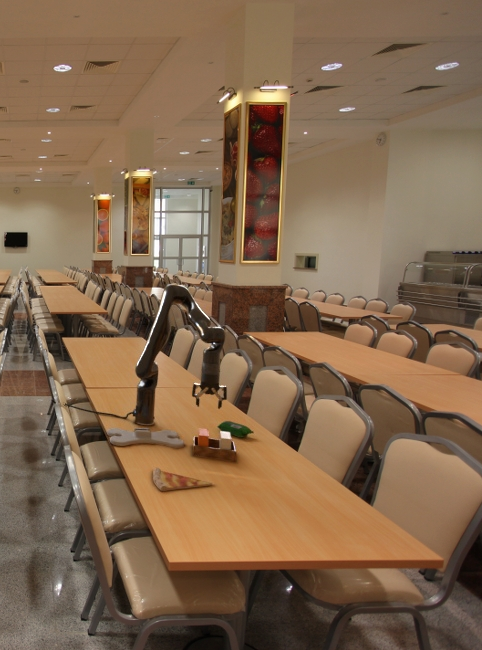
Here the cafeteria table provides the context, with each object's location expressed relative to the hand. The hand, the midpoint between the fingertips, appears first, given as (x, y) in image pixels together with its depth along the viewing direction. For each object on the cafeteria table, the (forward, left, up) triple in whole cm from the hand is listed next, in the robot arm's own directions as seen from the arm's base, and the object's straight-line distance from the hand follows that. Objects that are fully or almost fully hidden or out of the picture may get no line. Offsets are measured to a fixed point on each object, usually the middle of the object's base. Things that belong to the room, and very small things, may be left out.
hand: (208, 407), depth 225 cm
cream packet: (+8, -2, -20) cm, 21 cm away
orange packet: (-1, -2, -20) cm, 20 cm away
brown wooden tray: (+3, -2, -21) cm, 21 cm away
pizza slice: (-11, -40, -21) cm, 46 cm away
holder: (-27, +4, -21) cm, 34 cm away
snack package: (+14, +28, -21) cm, 38 cm away
